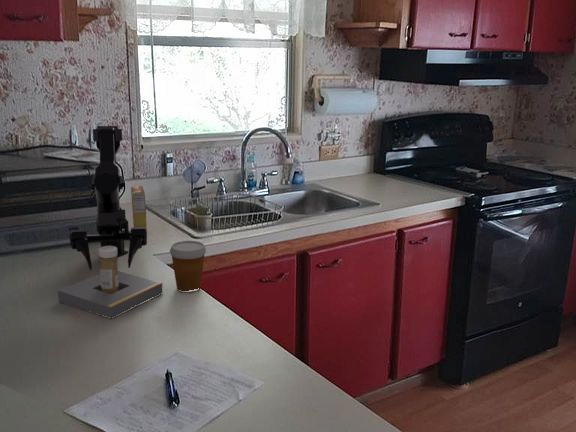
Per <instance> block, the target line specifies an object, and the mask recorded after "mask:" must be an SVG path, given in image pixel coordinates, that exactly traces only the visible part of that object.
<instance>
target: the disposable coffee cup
mask: <svg viewBox="0 0 576 432" xmlns="http://www.w3.org/2000/svg"><path fill="white" fill-rule="evenodd" d="M206 252H207V248H206V247H205V244H204V243H203V242H201V241H197V240H182V241H177V242H173V244H172V245H171V246H170V249H169V253H170V256H171V259H172V267H173V272H174V279H175V286H176V290H177V289H178V290H181V291H189V290H194V289H198V288H199V290H200V289H202V288H201V285H202V277H203V270H204V263H205V262H204V261H205V254H206ZM178 290H177V291H178ZM181 291H180V292H181Z"/></svg>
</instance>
